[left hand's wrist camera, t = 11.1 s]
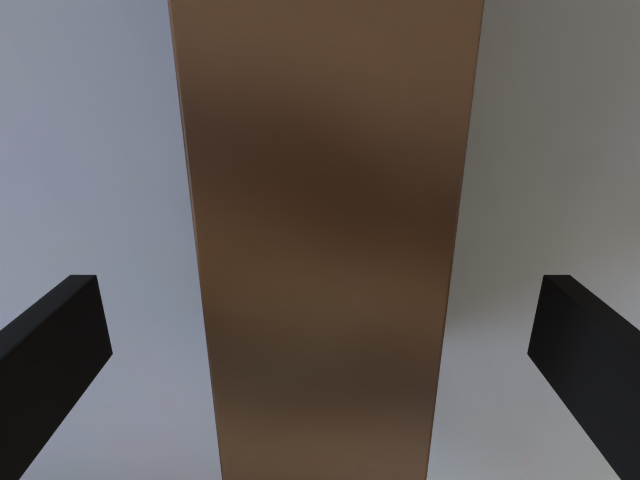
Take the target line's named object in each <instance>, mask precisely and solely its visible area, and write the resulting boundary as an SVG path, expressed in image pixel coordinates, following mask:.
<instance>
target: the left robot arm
mask: <svg viewBox="0 0 640 480" xmlns="http://www.w3.org/2000/svg"><path fill="white" fill-rule="evenodd" d="M112 354H113V353H112V348H111V343H110V338H109V333H108V329H107V324H106V319H105V314H104V309H103V305H102V300H101V295H100V290H99V285H98V281H97V276H96V275H70V276H68V277H67V278H66V279H65V280H63V281H62V282H61V283H60V284H58V285H57V286H56V287H55V288H53V289H52V290H51V291H49V292H48V293H47V294H46V295H44V296H43V297H42V298H41V299H39V300H38V301H37V302H36V303H34V304H33V305H32V306H31V307H29V308H28V309H27V310H26V311H24V312H23V313H22V314H21V315H19V316H18V317H17V318H16V319H14V320H13V321H12V322H11V323H9V324H8V325H7V326H6V327H4V328H3V329H2V330H1V331H0V480H19V479H20V478H21V476H22V475H23V474H24V472H25V471H26V470H27V468H28V467H29V466H30V464H31V463H32V462H33V460H34V459H35V457H36V456H37V455H38V453H39V452H40V451H41V449H42V448H43V447H44V445H45V444H46V443H47V441H48V440H49V439H50V437H51V436H52V435H53V433H54V432H55V431H56V429H57V428H58V427H59V425H60V424H61V423H62V421H63V420H64V419H65V417H66V416H67V415H68V413H69V412H70V411H71V409H72V408H73V407H74V405H75V404H76V402H77V401H78V400H79V398H80V397H81V396H82V394H83V393H84V392H85V390H86V389H87V388H88V386H89V385H90V384H91V382H92V381H93V380H94V378H95V377H96V376H97V374H98V373H99V372H100V370H101V369H102V368H103V366H104V365H105V364H106V362H107V361H108V360H109V358H110V357H111V356H112ZM527 354H528V356H529V357H530V358H531V360H532V361H533V362H534V364H535V365H536V366H537V368H538V369H539V370H540V372H541V373H542V374H543V376H544V377H545V378H546V380H547V381H548V382H549V384H550V385H551V386H552V388H553V389H554V390H555V392H556V393H557V394H558V396H559V397H560V398H561V400H562V401H563V402H564V404H565V405H566V407H567V408H568V409H569V411H570V412H571V413H572V415H573V416H574V417H575V419H576V420H577V421H578V423H579V424H580V425H581V427H582V428H583V429H584V431H585V432H586V433H587V435H588V436H589V437H590V439H591V440H592V441H593V443H594V444H595V445H596V447H597V448H598V449H599V451H600V452H601V453H602V455H603V456H604V457H605V459H606V460H607V462H608V463H609V464H610V466H611V467H612V468H613V470H614V471H615V472H616V474H617V475H618V476H619V478H620V479H621V480H640V331H639V330H638V329H637V328H636V327H634V326H633V325H632V324H631V323H629V322H628V321H627V320H626V319H624V318H623V317H622V316H621V315H619V314H618V313H617V312H616V311H614V310H613V309H612V308H611V307H609V306H608V305H607V304H606V303H604V302H603V301H602V300H601V299H599V298H598V297H597V296H596V295H594V294H593V293H592V292H590V291H589V290H588V289H587V288H585V287H584V286H583V285H582V284H580V283H579V282H578V281H577V280H575V279H574V278H573V277H572V276H570V275H544V276H543V281H542V285H541V290H540V295H539V300H538V305H537V309H536V314H535V319H534V324H533V329H532V333H531V338H530V343H529V348H528V352H527Z"/></svg>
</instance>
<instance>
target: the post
mask: <svg viewBox="0 0 640 480" xmlns="http://www.w3.org/2000/svg"><path fill="white" fill-rule="evenodd" d="M483 7H484V0H168V8H169V17H170V26H171V34H172V43H173V52H174V61H175V70H176V78H177V87H178V96H179V105H180V113H181V122H182V131H183V140H184V149H185V157H186V166H187V175H188V184H189V192H190V201H191V210H192V219H193V227H194V236H195V245H196V254H197V263H198V271H199V280H200V289H201V298H202V306H203V315H204V324H205V333H206V342H207V350H208V359H209V368H210V377H211V385H212V394H213V403H214V412H215V420H216V429H217V438H218V447H219V456H220V464H221V473H222V480H426V478H427V470H428V461H429V453H430V445H431V437H432V428H433V420H434V412H435V404H436V395H437V387H438V379H439V371H440V362H441V354H442V346H443V338H444V329H445V321H446V313H447V305H448V296H449V288H450V280H451V272H452V263H453V255H454V247H455V239H456V230H457V222H458V214H459V206H460V197H461V189H462V181H463V172H464V164H465V156H466V148H467V139H468V131H469V123H470V115H471V106H472V98H473V90H474V82H475V73H476V65H477V57H478V49H479V40H480V32H481V24H482V16H483Z"/></svg>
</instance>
